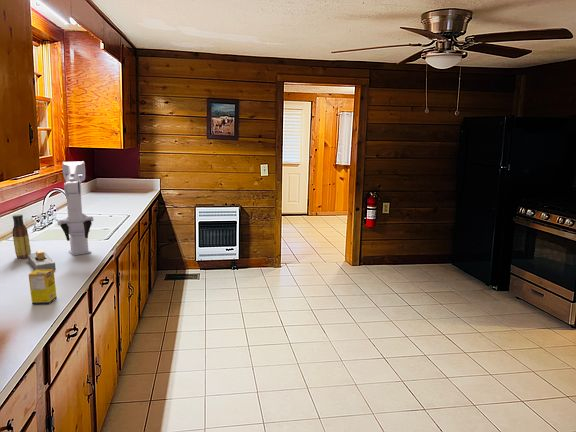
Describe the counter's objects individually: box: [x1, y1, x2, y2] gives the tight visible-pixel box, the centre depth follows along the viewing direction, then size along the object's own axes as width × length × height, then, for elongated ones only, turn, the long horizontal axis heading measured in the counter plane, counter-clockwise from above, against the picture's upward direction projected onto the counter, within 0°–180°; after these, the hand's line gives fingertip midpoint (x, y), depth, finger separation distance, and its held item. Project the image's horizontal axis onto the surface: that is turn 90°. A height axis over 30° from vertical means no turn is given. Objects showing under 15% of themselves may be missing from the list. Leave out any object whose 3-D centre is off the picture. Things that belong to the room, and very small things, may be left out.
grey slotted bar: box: [26, 251, 57, 271], centre depth 212 cm, size 22×7×3 cm, turn 37°
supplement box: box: [28, 269, 57, 305], centre depth 168 cm, size 6×6×11 cm
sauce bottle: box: [12, 214, 32, 260], centre depth 223 cm, size 7×6×20 cm
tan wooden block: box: [35, 250, 45, 260], centre depth 211 cm, size 4×2×6 cm, turn 38°
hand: (77, 239), depth 216 cm, fingers open, 7 cm apart
